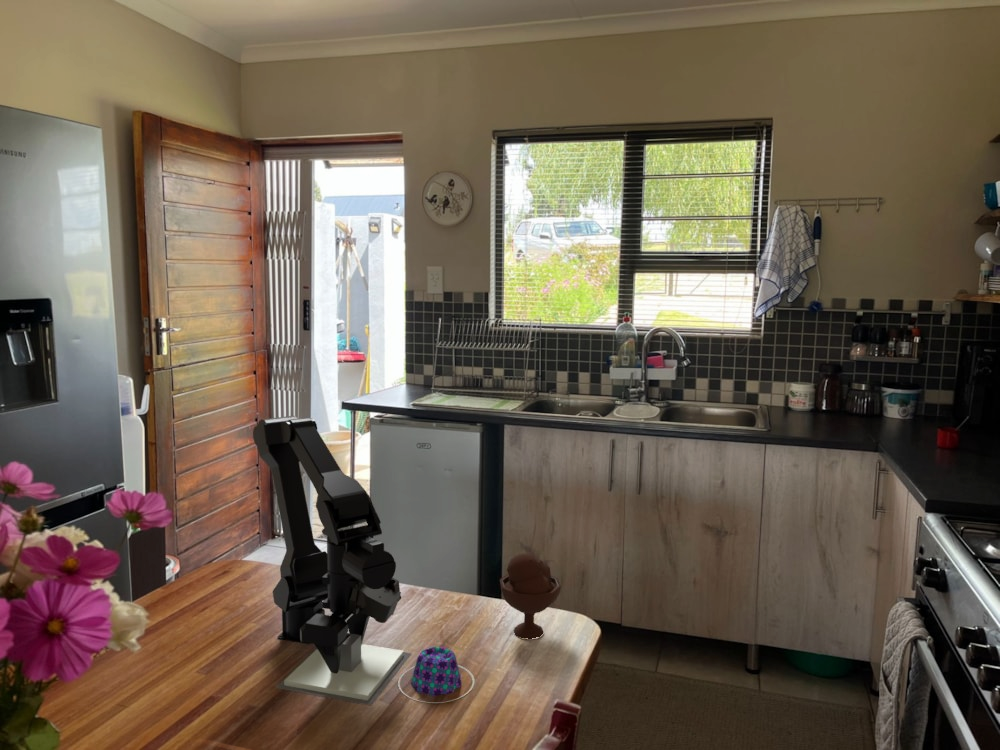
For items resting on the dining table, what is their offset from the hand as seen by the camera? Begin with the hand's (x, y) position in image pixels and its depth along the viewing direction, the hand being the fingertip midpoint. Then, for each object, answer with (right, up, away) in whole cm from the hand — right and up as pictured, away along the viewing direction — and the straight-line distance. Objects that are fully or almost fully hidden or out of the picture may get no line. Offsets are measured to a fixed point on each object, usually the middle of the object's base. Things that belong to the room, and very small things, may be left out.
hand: (346, 660), depth 121 cm
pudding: (+15, -3, -3) cm, 15 cm away
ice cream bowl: (+30, -1, +15) cm, 33 cm away
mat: (0, -2, 0) cm, 2 cm away
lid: (0, -2, 0) cm, 2 cm away
